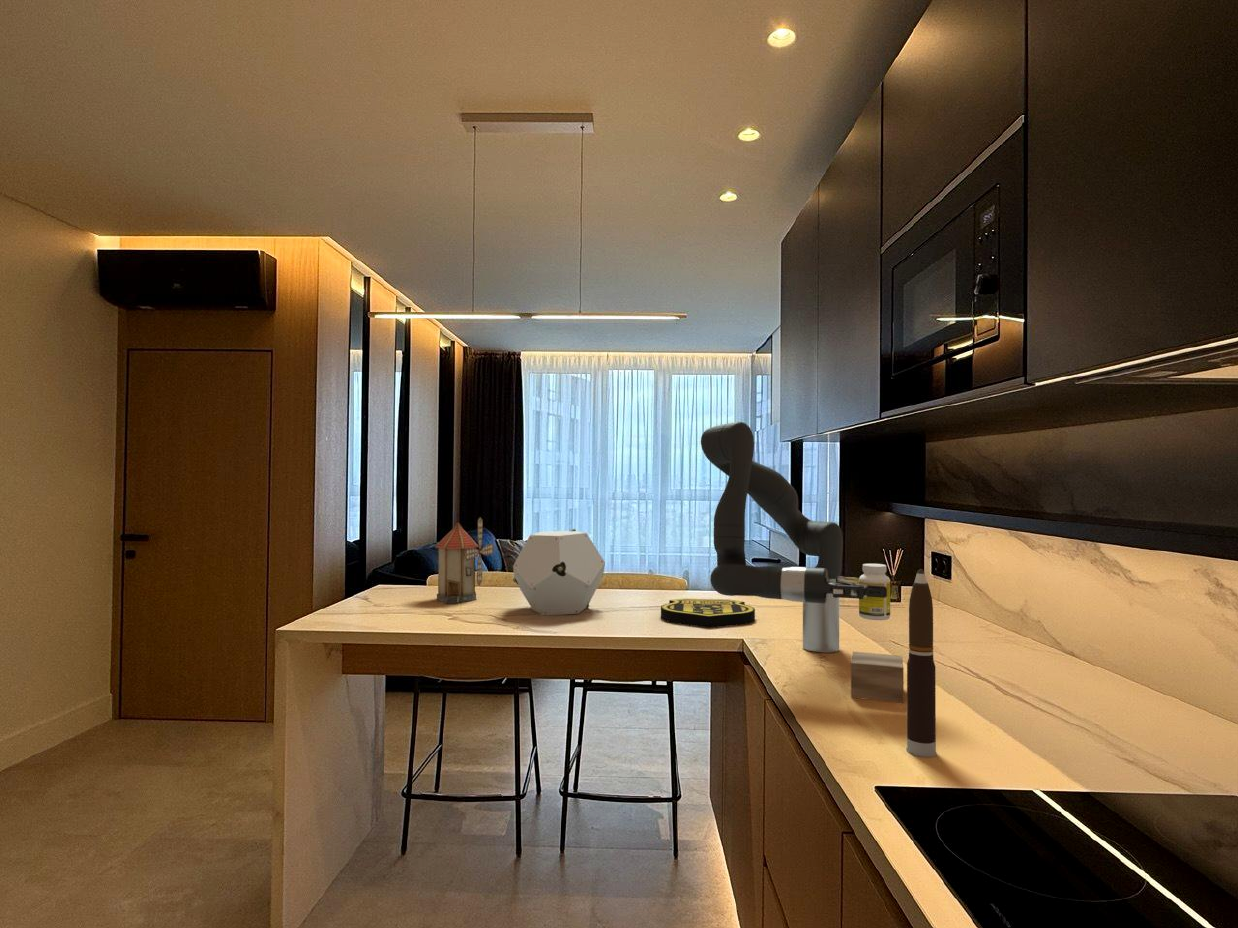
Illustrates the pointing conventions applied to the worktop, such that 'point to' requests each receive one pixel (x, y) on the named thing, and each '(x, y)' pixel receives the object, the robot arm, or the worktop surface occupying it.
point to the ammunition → (921, 672)
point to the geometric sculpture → (559, 571)
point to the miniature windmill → (460, 565)
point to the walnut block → (877, 677)
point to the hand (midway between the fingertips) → (886, 589)
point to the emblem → (707, 612)
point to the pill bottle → (875, 605)
